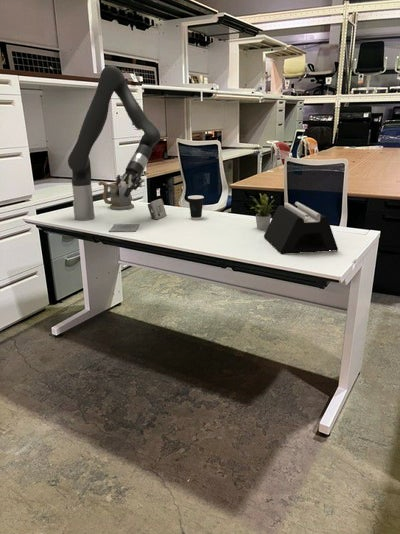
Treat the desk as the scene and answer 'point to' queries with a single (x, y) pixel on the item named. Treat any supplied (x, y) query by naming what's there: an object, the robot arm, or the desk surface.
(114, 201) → the tankard
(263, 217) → the house plant
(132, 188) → the robot arm
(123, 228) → the mat
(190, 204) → the dixie cup
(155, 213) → the electrical switch
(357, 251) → the desk surface
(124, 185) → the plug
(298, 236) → the device stand
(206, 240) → the desk surface
